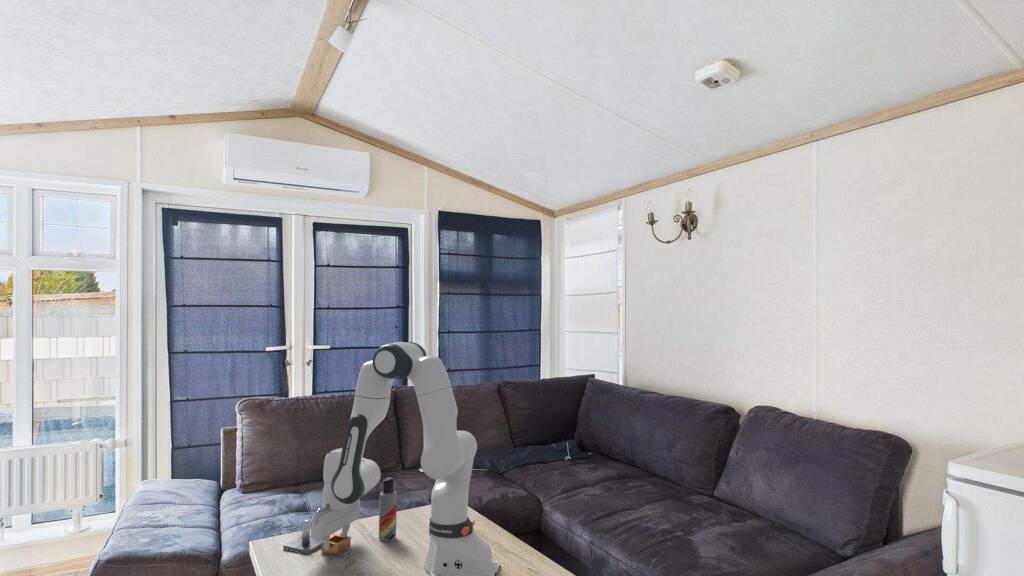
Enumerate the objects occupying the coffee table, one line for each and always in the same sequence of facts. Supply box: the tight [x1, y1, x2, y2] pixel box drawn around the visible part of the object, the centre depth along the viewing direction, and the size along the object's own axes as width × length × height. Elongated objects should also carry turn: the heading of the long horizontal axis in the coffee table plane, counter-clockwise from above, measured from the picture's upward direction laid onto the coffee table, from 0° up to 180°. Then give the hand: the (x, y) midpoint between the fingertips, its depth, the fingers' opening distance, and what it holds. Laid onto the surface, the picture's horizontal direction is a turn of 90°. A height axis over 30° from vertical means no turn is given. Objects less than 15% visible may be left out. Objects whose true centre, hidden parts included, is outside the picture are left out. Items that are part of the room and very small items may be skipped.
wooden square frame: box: [320, 533, 352, 556], centre depth 174 cm, size 6×6×3 cm
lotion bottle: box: [378, 477, 398, 542], centre depth 183 cm, size 6×6×20 cm
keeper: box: [282, 519, 322, 555], centre depth 176 cm, size 10×9×8 cm
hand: (335, 543), depth 174 cm, fingers closed on wooden square frame, 6 cm apart
